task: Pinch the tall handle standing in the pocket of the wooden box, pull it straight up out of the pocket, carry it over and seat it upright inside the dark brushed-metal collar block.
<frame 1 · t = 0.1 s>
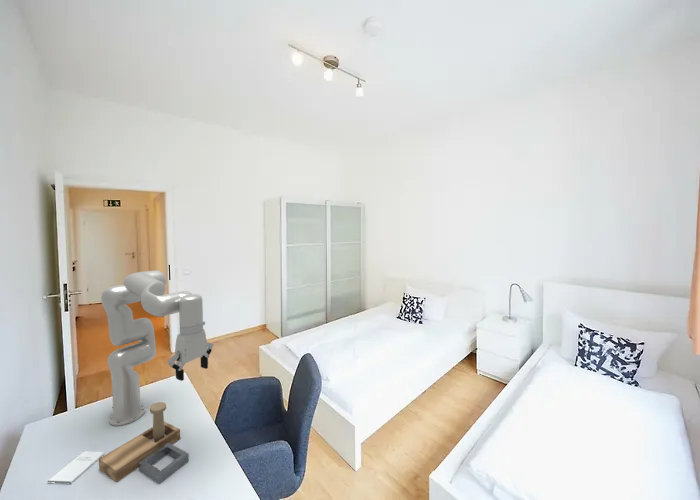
hand: (192, 373, 106), 31 cm above the table, fingers open, 9 cm apart
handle: (159, 442, 113), resting in wooden box
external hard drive: (77, 470, 101), on the table
wooden box: (142, 453, 108), on the table
collar: (164, 465, 102), on the table
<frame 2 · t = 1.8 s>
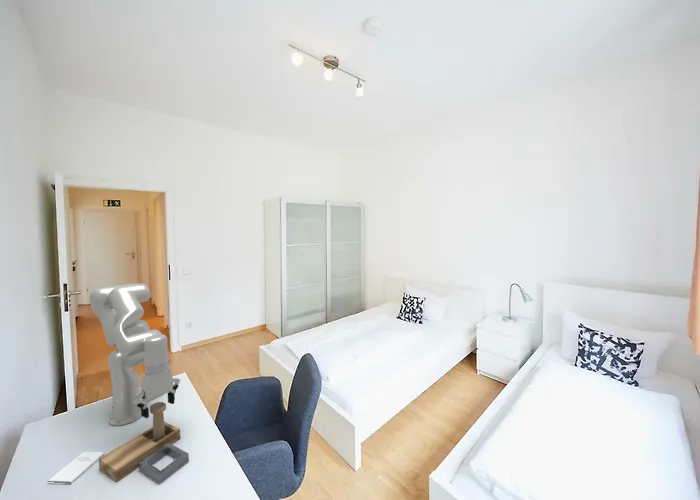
hand: (158, 409, 112), 14 cm above the table, fingers open, 9 cm apart
nothing on the table moved.
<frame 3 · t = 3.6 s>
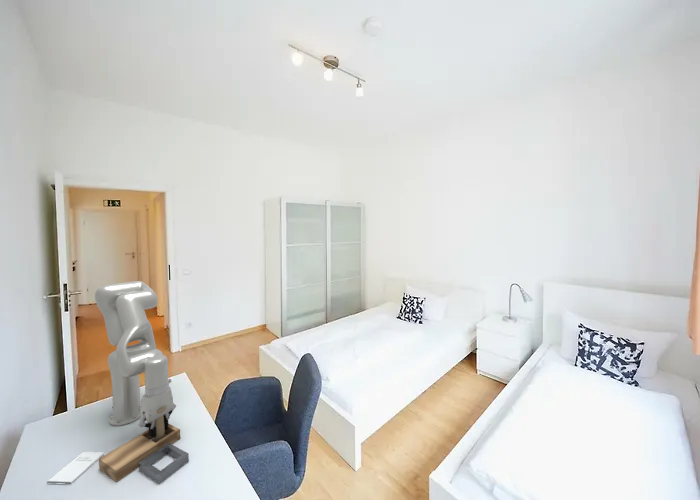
hand: (158, 432, 113), 4 cm above the table, fingers closed on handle, 3 cm apart
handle: (159, 442, 113), resting in wooden box, touching gripper
everything else where it was.
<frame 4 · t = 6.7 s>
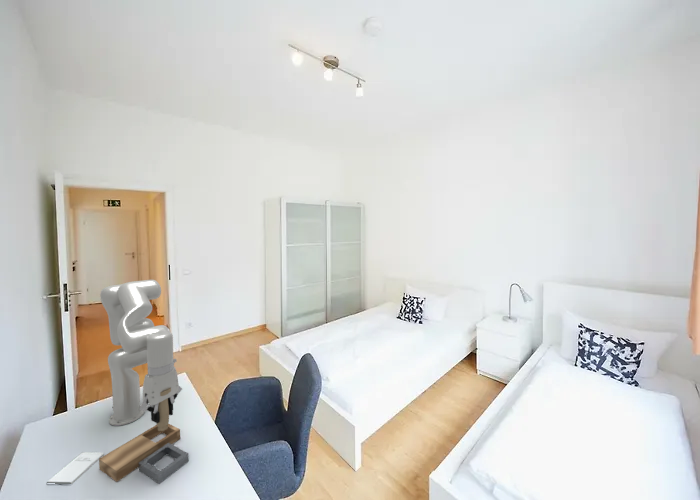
hand: (162, 417, 101), 18 cm above the table, fingers closed on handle, 3 cm apart
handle: (163, 429, 101), point 14 cm above the table, touching gripper
everything else where it was.
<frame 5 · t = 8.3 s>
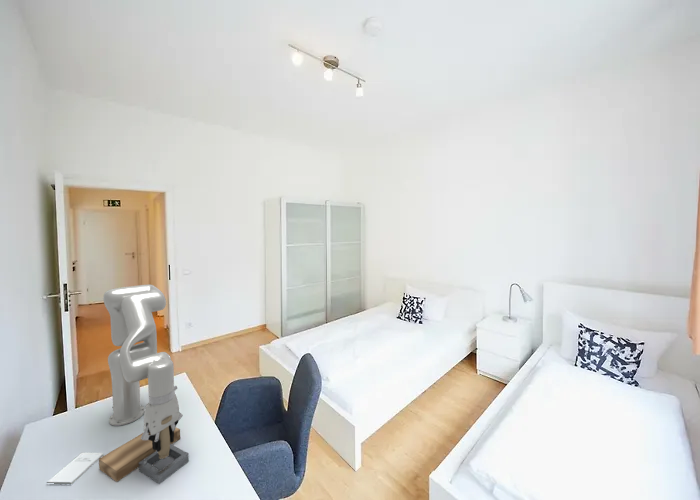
hand: (163, 444, 101), 8 cm above the table, fingers closed on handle, 3 cm apart
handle: (164, 456, 102), point 4 cm above the table, touching gripper
everything else where it was.
when the fingers open (6 cm above the table, at t = 9.6 s): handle drops 1 cm, resting in collar.
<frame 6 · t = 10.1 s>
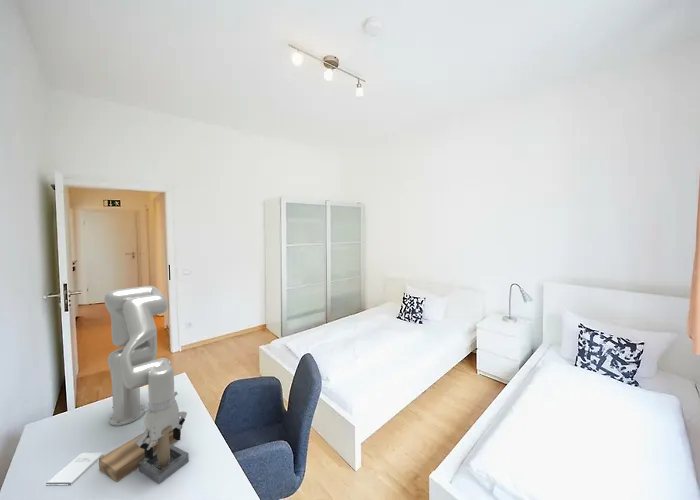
hand: (163, 448, 101), 7 cm above the table, fingers open, 9 cm apart
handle: (164, 466, 102), resting in collar
everything else where it was.
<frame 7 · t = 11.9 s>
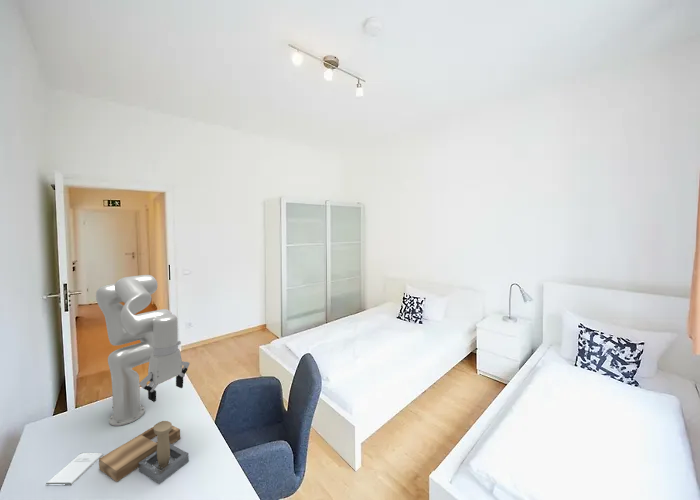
hand: (166, 393, 105), 24 cm above the table, fingers open, 9 cm apart
nothing on the table moved.
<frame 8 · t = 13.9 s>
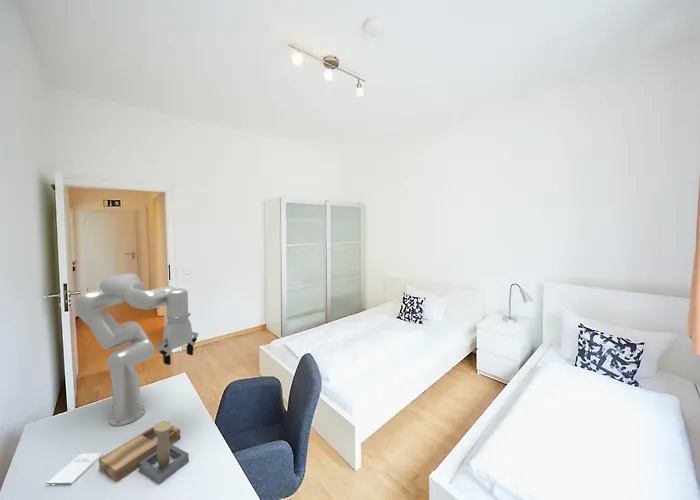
hand: (179, 359, 119), 30 cm above the table, fingers open, 9 cm apart
nothing on the table moved.
at the end: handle 0.2 cm from the collar (horizontally); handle tilted 0°; the gripper is holding nothing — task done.
